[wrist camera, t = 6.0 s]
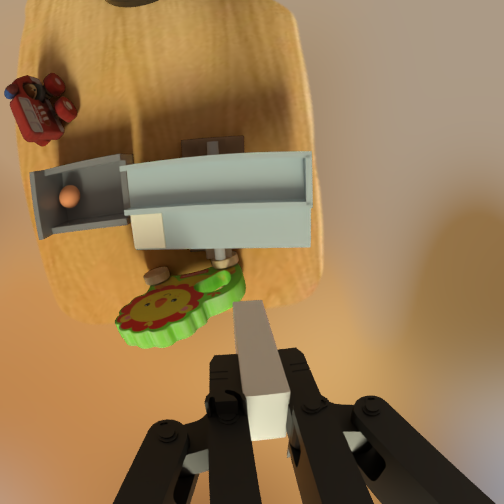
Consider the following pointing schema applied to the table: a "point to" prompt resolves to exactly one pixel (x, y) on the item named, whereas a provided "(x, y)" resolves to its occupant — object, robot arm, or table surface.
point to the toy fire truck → (39, 108)
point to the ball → (69, 196)
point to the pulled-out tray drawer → (82, 195)
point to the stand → (200, 149)
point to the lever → (222, 201)
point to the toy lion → (180, 303)
